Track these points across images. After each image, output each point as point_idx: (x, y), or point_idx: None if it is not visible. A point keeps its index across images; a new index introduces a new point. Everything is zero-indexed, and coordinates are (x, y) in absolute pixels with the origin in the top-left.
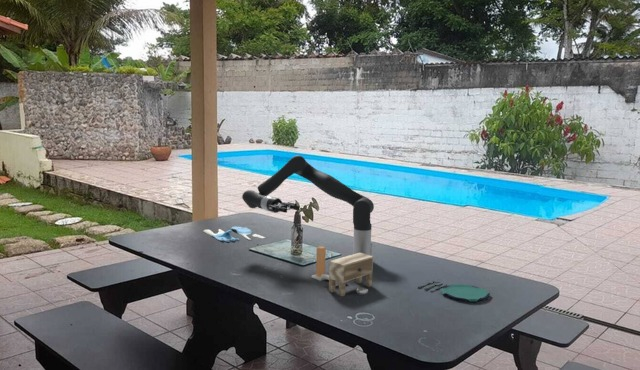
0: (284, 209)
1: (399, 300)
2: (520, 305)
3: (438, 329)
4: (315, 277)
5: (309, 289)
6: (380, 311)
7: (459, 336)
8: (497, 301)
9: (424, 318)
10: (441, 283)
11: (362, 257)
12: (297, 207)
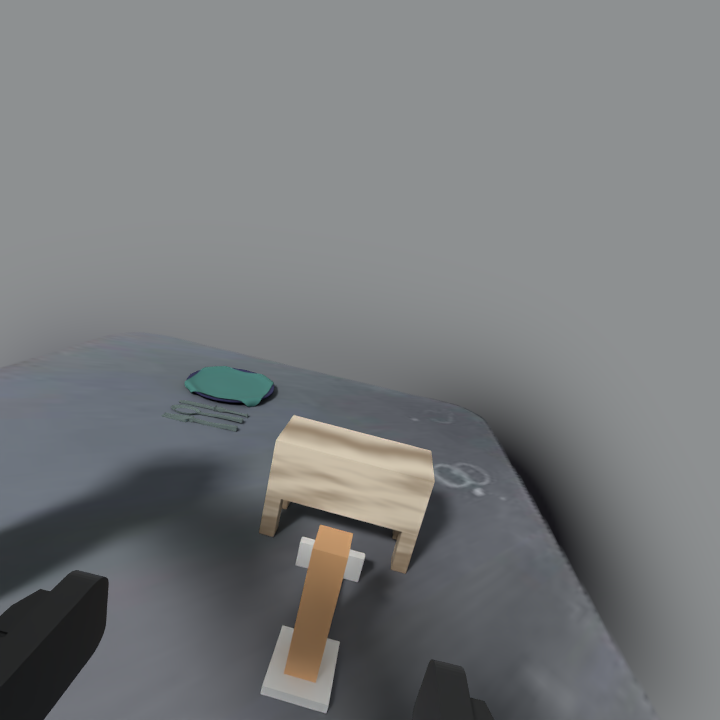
0: (483, 707)
1: None
2: (241, 358)
3: (397, 410)
4: (333, 676)
5: (447, 635)
6: None
7: (395, 399)
8: None
9: (377, 420)
10: (179, 406)
11: (324, 429)
12: (84, 620)
